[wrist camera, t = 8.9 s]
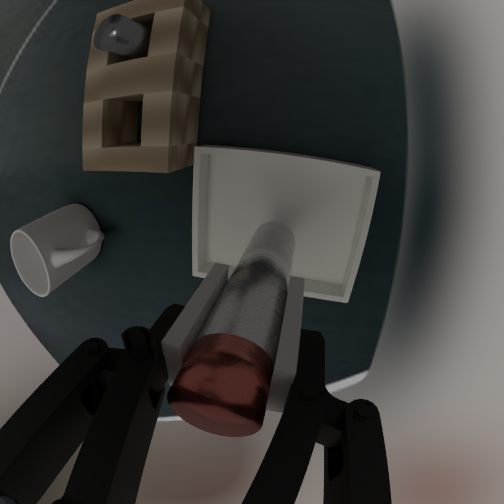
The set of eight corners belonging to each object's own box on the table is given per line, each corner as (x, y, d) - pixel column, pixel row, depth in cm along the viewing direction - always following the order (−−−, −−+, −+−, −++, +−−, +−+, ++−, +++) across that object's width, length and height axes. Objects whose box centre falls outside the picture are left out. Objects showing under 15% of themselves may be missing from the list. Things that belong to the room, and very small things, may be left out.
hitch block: (129, 25, 20) (97, 13, 15) (210, 10, 19) (187, -13, 13) (118, 161, 27) (83, 170, 22) (196, 163, 26) (167, 173, 21)
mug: (129, 260, 33) (77, 305, 23) (73, 258, 36) (25, 293, 26) (114, 195, 29) (49, 226, 20) (58, 205, 32) (3, 231, 22)
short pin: (150, 40, 21) (97, 20, 13) (177, 35, 20) (128, 9, 12) (146, 67, 22) (90, 54, 14) (174, 63, 22) (121, 44, 14)
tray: (206, 144, 25) (194, 146, 22) (372, 167, 23) (380, 172, 20) (202, 262, 31) (192, 275, 28) (344, 287, 28) (347, 303, 26)
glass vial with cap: (255, 218, 21) (160, 371, 8) (298, 224, 21) (269, 399, 7) (251, 257, 23) (173, 421, 9) (292, 264, 22) (257, 443, 9)
